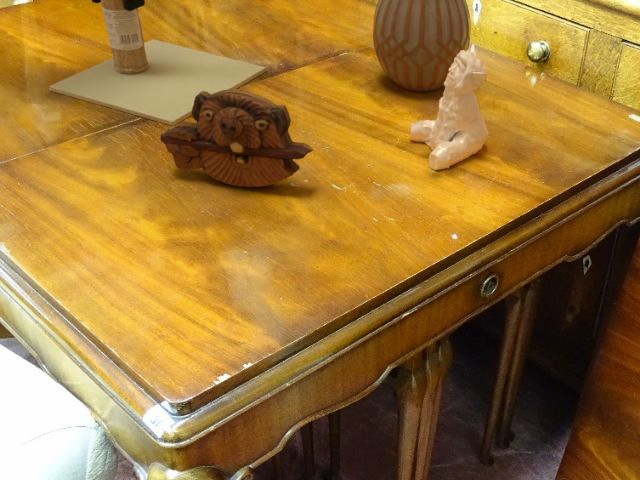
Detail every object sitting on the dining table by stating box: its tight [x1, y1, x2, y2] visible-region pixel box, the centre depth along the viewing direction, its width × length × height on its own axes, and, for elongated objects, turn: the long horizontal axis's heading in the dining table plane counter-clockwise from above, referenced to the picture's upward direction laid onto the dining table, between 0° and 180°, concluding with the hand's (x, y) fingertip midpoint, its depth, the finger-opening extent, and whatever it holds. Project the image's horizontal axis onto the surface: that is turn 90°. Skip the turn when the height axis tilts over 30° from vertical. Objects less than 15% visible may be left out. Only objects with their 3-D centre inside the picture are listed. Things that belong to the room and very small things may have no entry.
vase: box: [372, 0, 472, 92], centre depth 102 cm, size 13×13×18 cm
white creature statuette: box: [409, 49, 490, 171], centre depth 89 cm, size 10×9×12 cm
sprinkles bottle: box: [100, 0, 149, 74], centre depth 101 cm, size 5×5×13 cm
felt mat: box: [48, 39, 268, 127], centre depth 104 cm, size 20×20×1 cm
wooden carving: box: [160, 88, 314, 188], centre depth 82 cm, size 16×5×10 cm, turn 82°
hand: (118, 2), depth 100 cm, fingers closed on sprinkles bottle, 4 cm apart
